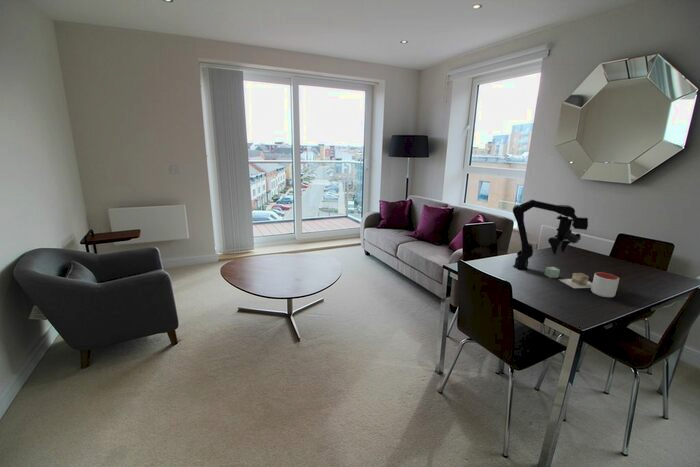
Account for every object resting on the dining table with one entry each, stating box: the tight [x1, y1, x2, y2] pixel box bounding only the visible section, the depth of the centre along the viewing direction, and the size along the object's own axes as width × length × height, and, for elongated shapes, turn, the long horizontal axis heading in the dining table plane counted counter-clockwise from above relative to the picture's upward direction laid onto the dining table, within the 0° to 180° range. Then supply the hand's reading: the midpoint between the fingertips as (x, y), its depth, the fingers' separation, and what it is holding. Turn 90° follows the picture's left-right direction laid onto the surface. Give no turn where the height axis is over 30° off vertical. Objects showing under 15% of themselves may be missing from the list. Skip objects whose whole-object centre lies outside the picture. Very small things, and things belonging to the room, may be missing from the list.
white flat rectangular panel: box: [557, 278, 593, 289], centre depth 178 cm, size 16×12×1 cm
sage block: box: [544, 266, 561, 279], centre depth 187 cm, size 5×5×5 cm
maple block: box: [571, 272, 590, 285], centre depth 177 cm, size 5×5×5 cm
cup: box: [590, 272, 620, 298], centre depth 164 cm, size 10×10×10 cm
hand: (558, 253), depth 189 cm, fingers open, 9 cm apart
